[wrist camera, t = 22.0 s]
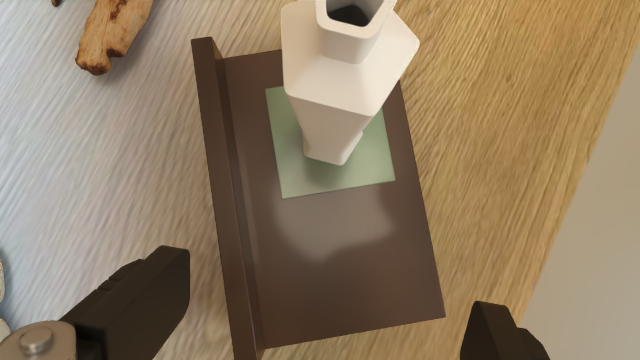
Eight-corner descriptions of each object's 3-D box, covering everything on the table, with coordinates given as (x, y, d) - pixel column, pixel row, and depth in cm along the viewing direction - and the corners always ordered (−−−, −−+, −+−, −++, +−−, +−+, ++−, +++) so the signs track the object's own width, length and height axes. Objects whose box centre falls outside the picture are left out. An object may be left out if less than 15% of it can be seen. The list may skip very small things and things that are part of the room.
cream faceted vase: (276, 130, 25) (221, -13, 10) (331, 87, 25) (355, -112, 11) (323, 187, 25) (338, 126, 10) (378, 143, 25) (472, 17, 10)
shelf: (380, 58, 30) (399, 7, 23) (427, 304, 28) (465, 329, 21) (219, 83, 30) (190, 39, 23) (255, 335, 28) (235, 370, 21)
